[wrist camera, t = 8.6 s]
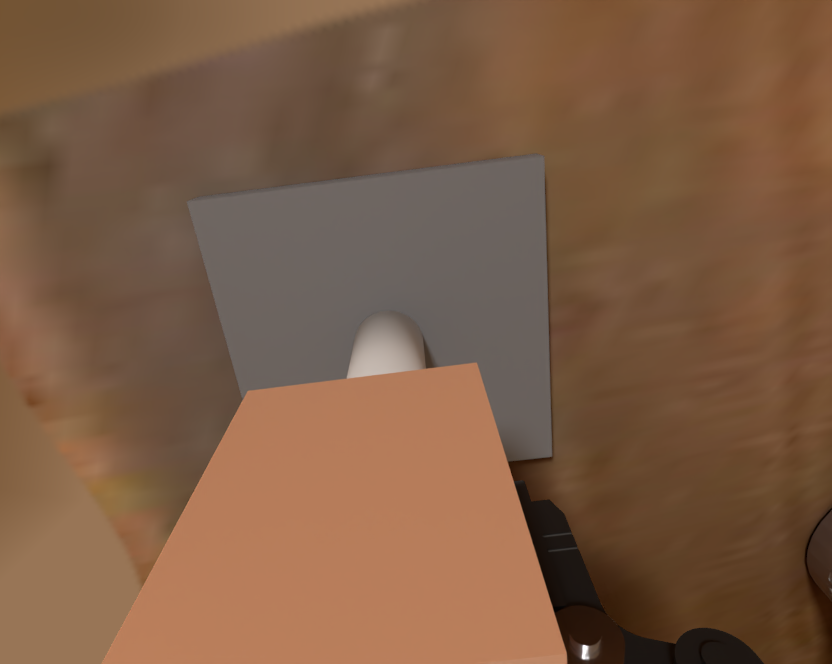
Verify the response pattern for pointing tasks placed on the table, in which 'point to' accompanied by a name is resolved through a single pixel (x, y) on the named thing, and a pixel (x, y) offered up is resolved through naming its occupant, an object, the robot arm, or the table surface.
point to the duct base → (391, 282)
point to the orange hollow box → (351, 536)
